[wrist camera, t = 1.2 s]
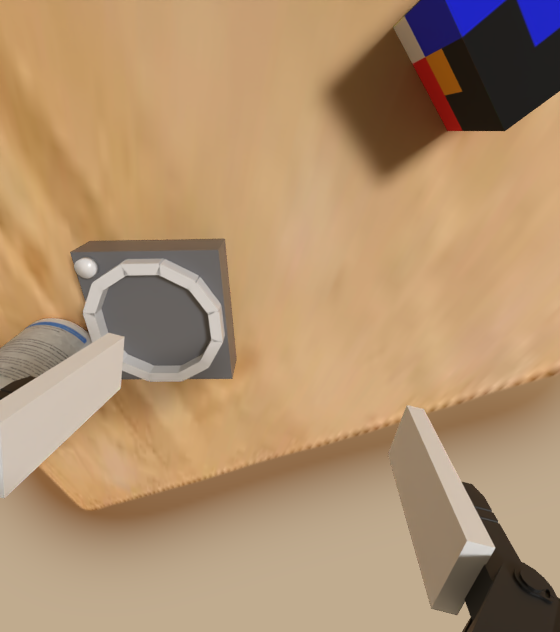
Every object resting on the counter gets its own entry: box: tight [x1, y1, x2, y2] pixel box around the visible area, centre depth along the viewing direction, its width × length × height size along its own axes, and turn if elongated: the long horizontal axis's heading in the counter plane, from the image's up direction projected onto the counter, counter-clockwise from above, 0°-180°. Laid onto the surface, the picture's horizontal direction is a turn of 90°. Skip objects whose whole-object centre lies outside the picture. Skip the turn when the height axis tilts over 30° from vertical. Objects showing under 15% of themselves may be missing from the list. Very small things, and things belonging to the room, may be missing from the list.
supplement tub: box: [0, 318, 92, 389], centre depth 39 cm, size 10×10×15 cm
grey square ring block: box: [70, 239, 236, 382], centre depth 40 cm, size 16×15×6 cm
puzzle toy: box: [393, 0, 560, 131], centre depth 25 cm, size 10×10×10 cm
